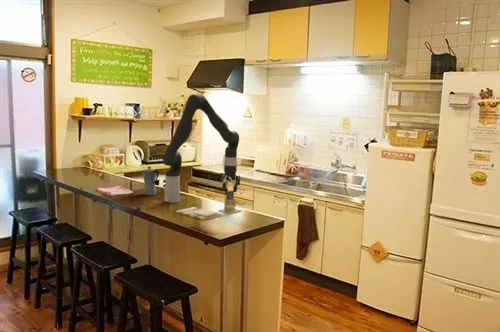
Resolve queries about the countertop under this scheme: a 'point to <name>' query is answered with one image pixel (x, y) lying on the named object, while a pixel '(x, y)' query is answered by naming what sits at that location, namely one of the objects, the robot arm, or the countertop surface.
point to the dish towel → (114, 190)
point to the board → (193, 209)
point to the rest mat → (230, 211)
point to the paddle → (229, 201)
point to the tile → (205, 213)
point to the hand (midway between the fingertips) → (229, 190)
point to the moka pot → (150, 181)
